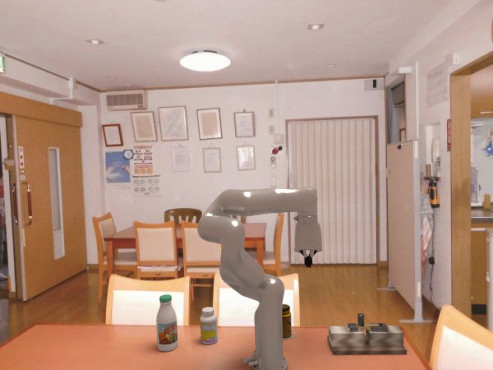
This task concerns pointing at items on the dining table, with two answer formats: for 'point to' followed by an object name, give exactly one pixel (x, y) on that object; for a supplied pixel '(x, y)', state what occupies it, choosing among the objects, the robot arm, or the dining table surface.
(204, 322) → the supplement bottle
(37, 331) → the dining table surface
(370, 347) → the grey brown double block
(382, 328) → the lock hardware
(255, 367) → the robot arm
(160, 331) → the milk bottle
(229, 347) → the dining table surface
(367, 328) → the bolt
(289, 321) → the condiment
